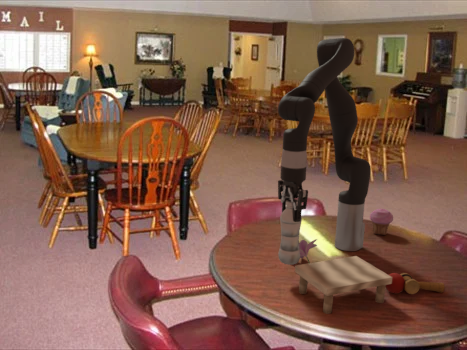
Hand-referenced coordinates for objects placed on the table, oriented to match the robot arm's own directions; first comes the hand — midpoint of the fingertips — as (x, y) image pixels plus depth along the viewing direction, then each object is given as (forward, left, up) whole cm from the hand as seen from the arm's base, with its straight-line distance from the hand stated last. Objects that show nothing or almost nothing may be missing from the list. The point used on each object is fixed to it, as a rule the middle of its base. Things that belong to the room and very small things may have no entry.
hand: (291, 217), depth 172 cm
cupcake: (-56, -25, -20) cm, 65 cm away
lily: (-11, -10, -21) cm, 25 cm away
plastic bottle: (0, 0, -15) cm, 15 cm away
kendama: (-32, +21, -21) cm, 43 cm away
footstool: (-9, +16, -20) cm, 27 cm away
